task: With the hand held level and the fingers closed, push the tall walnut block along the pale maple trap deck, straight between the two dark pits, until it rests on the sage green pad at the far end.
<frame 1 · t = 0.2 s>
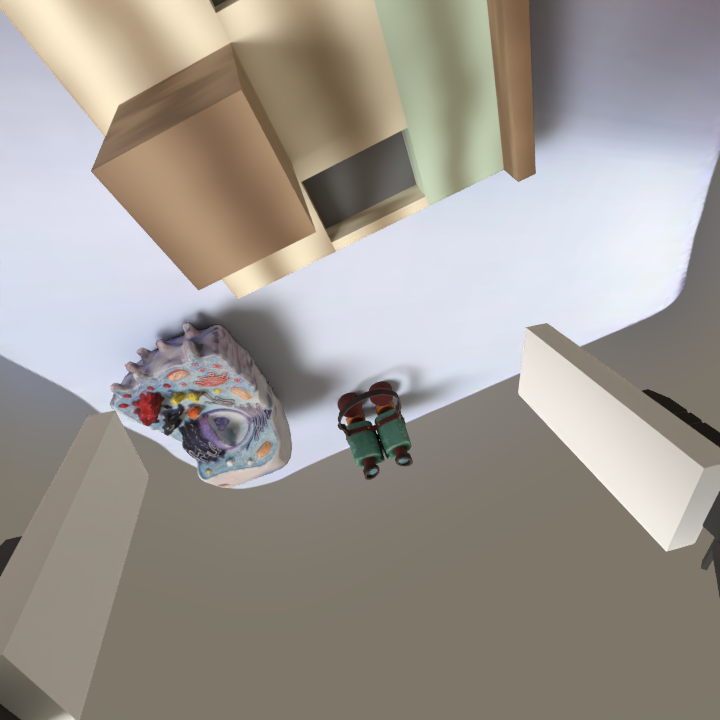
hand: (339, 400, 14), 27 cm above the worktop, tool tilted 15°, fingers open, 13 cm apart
walnut block: (212, 137, 29), point 3 cm above the worktop, touching trap deck
binoculars: (363, 397, 60), on the worktop
trap deck: (284, 83, 30), on the worktop
cell model: (215, 374, 50), on the worktop
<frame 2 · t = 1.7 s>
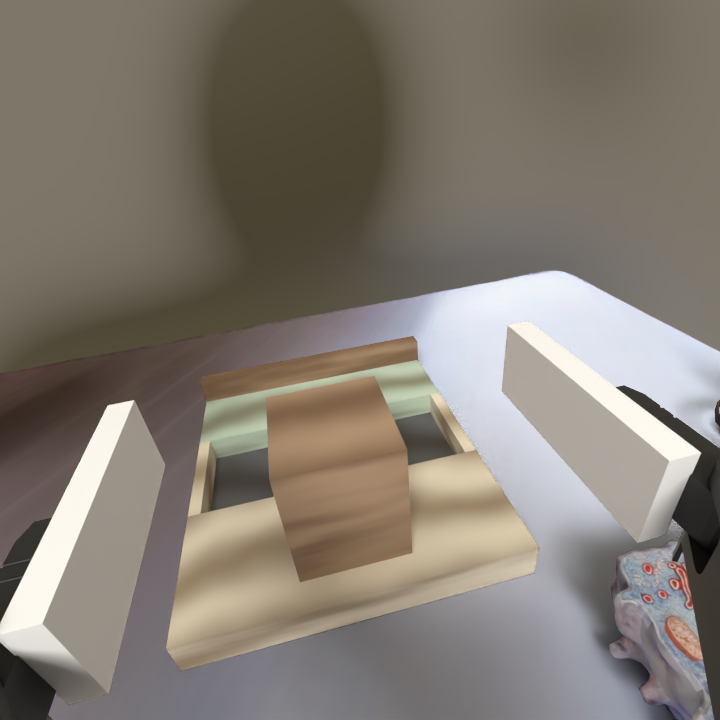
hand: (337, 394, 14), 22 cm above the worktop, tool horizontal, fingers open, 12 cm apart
walnut block: (346, 520, 33), point 3 cm above the worktop, touching trap deck
trap deck: (338, 488, 39), on the worktop
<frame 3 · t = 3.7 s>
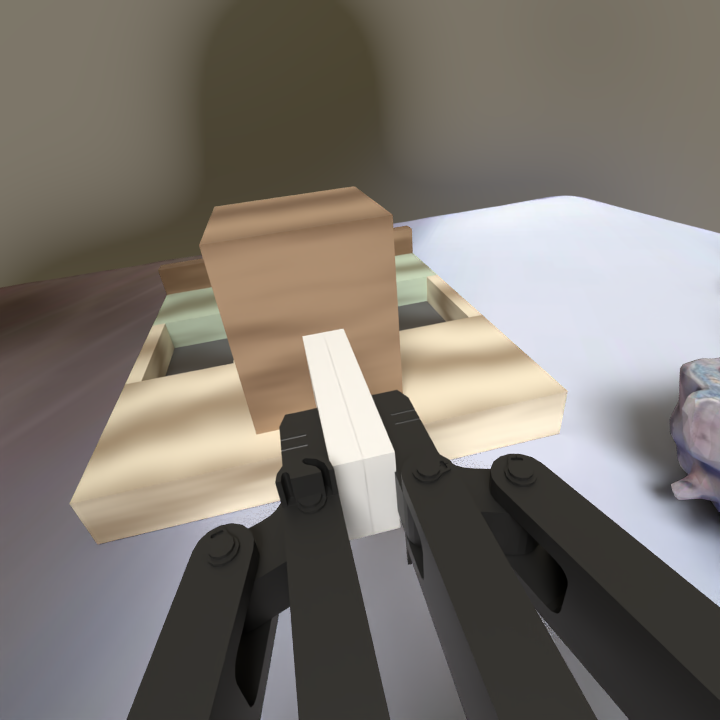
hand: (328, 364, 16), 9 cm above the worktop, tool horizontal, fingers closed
walnut block: (321, 378, 26), point 3 cm above the worktop, touching trap deck
trap deck: (316, 368, 33), on the worktop
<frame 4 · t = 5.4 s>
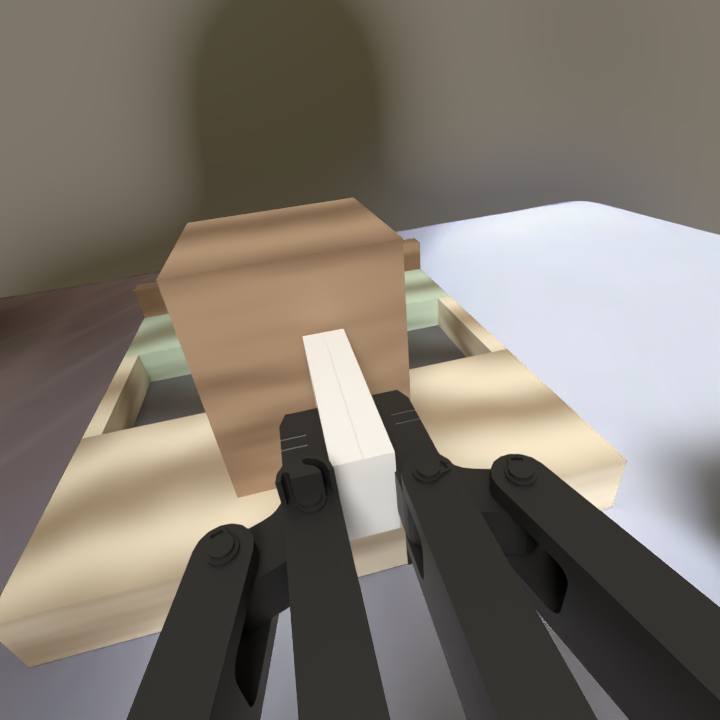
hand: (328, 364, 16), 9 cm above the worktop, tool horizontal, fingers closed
walnut block: (316, 420, 22), point 3 cm above the worktop, touching trap deck
trap deck: (312, 410, 28), on the worktop
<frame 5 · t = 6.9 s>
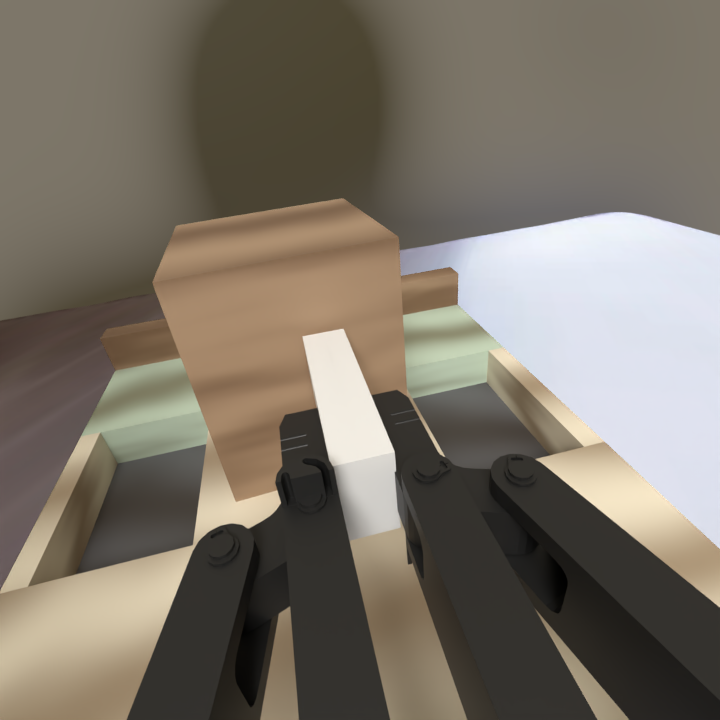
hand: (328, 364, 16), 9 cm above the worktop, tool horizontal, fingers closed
walnut block: (310, 422, 22), point 3 cm above the worktop, touching gripper, trap deck
trap deck: (332, 518, 21), on the worktop
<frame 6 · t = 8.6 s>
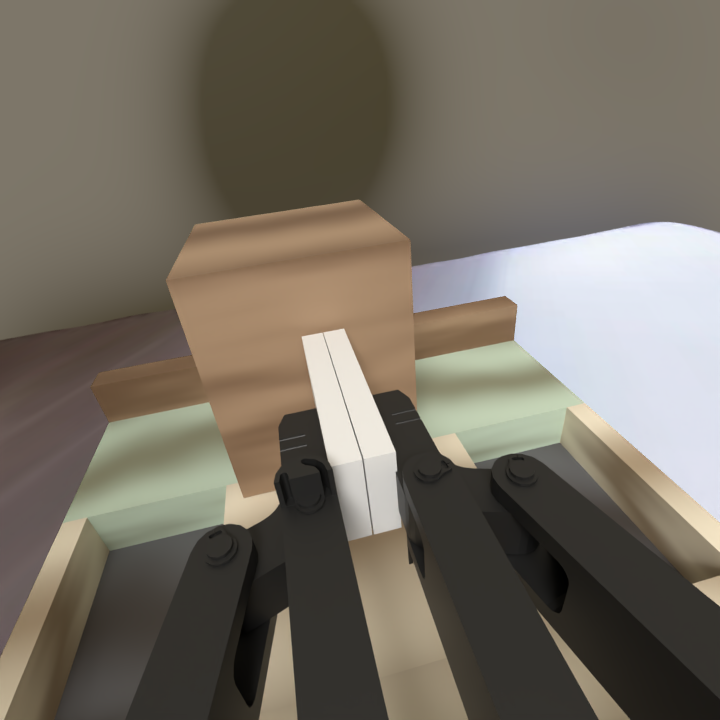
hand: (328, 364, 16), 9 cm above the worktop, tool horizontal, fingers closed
walnut block: (321, 421, 22), point 3 cm above the worktop, touching gripper, trap deck
trap deck: (388, 648, 16), on the worktop
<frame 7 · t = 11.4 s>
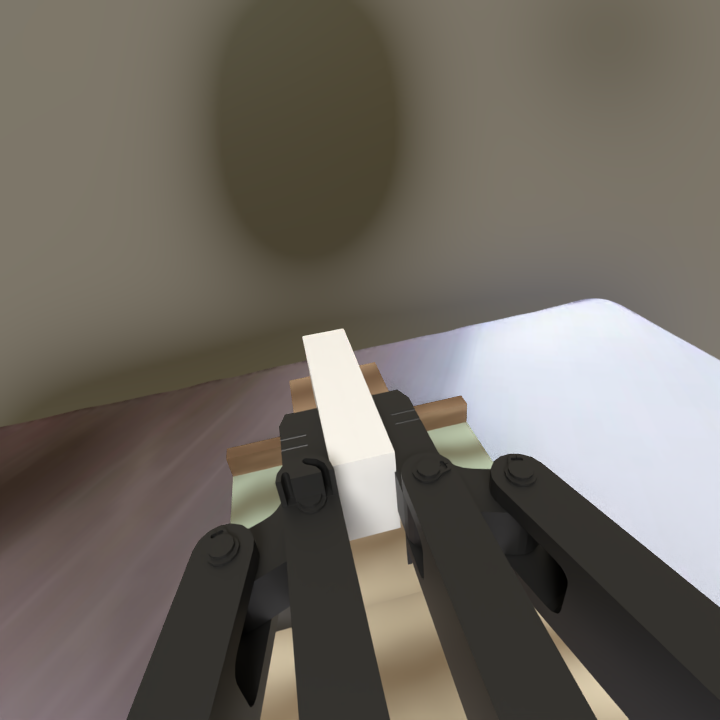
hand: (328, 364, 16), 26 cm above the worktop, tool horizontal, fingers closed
walnut block: (354, 478, 41), point 3 cm above the worktop, touching trap deck
trap deck: (391, 593, 34), on the worktop
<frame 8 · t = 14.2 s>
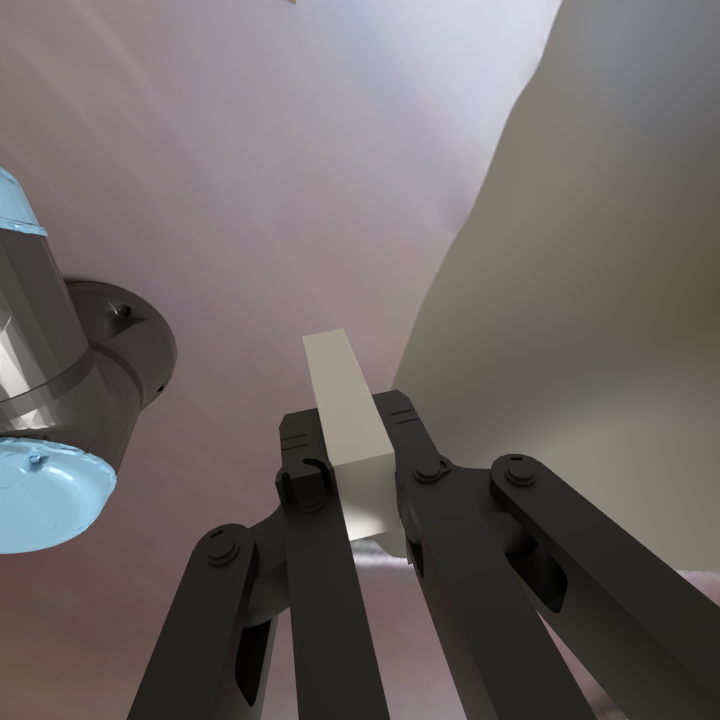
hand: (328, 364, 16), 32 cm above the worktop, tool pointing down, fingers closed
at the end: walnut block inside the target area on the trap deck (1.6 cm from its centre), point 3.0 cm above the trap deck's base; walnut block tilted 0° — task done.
